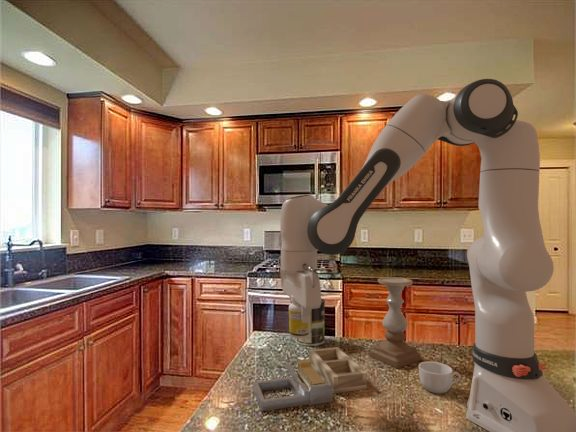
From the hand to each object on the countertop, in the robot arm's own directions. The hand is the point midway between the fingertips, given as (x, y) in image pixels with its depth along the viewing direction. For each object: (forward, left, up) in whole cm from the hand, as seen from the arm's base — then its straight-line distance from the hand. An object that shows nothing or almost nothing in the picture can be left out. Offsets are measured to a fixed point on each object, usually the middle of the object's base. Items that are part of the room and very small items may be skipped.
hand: (300, 318), depth 86 cm
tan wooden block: (+2, -3, -18) cm, 19 cm away
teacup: (-7, -34, -18) cm, 40 cm away
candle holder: (+13, -34, -18) cm, 41 cm away
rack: (+7, -12, -18) cm, 23 cm away
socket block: (+4, +2, -18) cm, 19 cm away
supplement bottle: (0, 0, -4) cm, 4 cm away
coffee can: (+34, -14, -18) cm, 41 cm away
